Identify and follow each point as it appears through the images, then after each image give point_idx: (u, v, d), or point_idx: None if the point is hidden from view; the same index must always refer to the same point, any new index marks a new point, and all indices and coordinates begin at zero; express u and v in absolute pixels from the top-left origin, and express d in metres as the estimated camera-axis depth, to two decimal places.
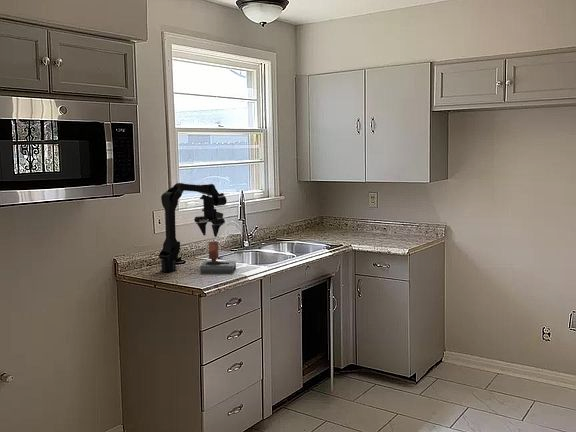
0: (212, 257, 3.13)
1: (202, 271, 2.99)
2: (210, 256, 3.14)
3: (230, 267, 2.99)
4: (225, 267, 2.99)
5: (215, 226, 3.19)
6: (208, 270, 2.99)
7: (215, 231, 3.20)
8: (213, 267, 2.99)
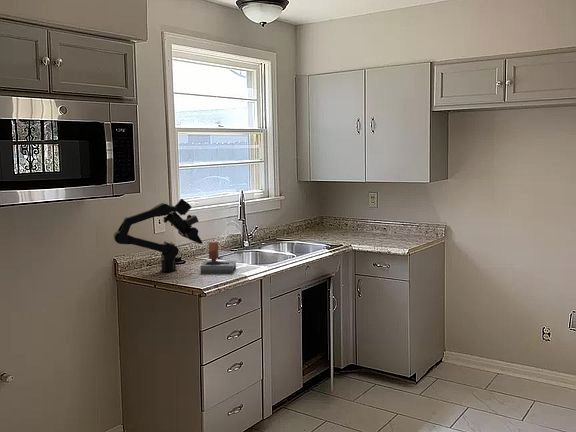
0: (212, 257, 3.13)
1: (202, 271, 2.99)
2: (210, 256, 3.14)
3: (230, 267, 2.99)
4: (225, 267, 2.99)
5: (193, 238, 3.03)
6: (208, 270, 2.99)
7: (197, 241, 3.05)
8: (213, 267, 2.99)
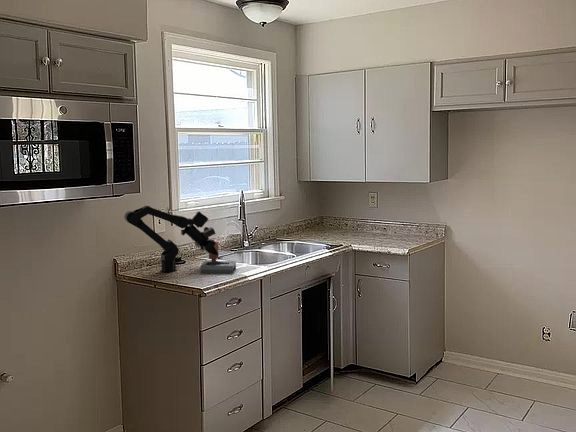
0: (212, 257, 3.13)
1: (202, 271, 2.99)
2: (210, 256, 3.14)
3: (230, 267, 2.99)
4: (225, 267, 2.99)
5: None
6: (208, 270, 2.99)
7: (213, 252, 3.12)
8: (213, 267, 2.99)
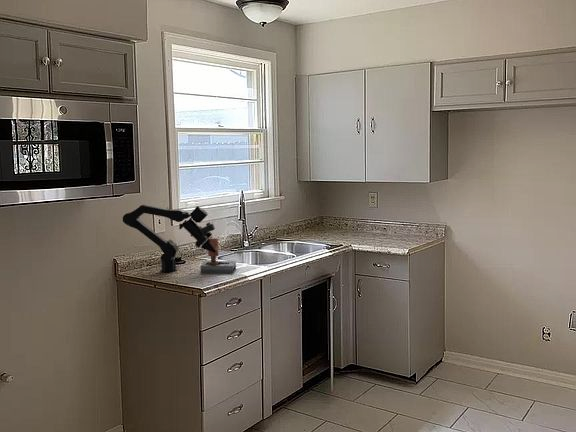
0: (209, 254, 3.03)
1: (202, 271, 2.99)
2: (208, 253, 3.04)
3: (230, 267, 2.99)
4: (225, 267, 2.99)
5: (204, 246, 3.00)
6: (208, 270, 2.99)
7: (209, 249, 3.01)
8: (213, 267, 2.99)
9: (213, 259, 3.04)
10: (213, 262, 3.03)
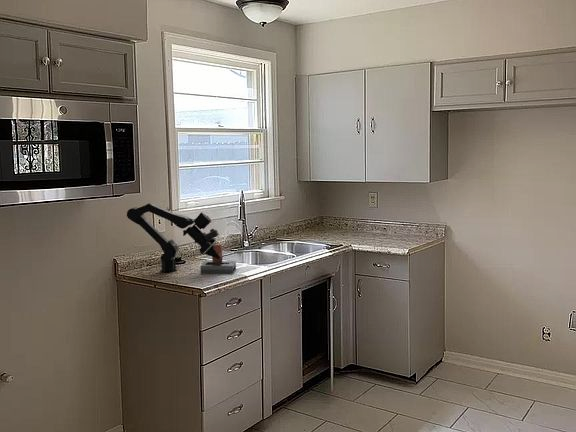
0: (214, 260, 3.03)
1: (202, 271, 2.99)
2: (212, 259, 3.04)
3: (230, 267, 2.99)
4: (225, 267, 2.99)
5: (208, 252, 3.00)
6: (208, 270, 2.99)
7: (213, 255, 3.01)
8: (213, 267, 2.99)
9: None
10: None
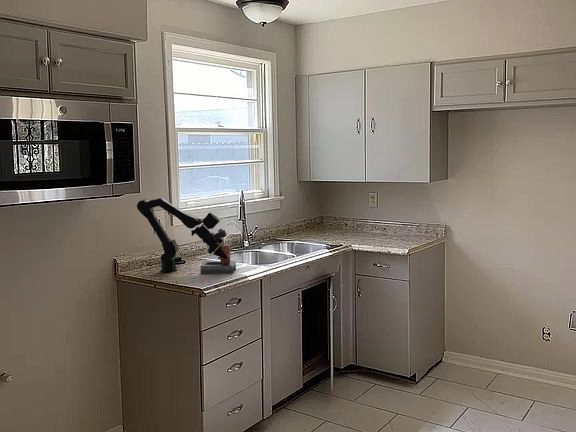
0: (222, 261, 3.03)
1: (202, 271, 2.99)
2: (220, 259, 3.04)
3: (230, 267, 2.99)
4: (225, 267, 2.99)
5: (216, 253, 2.99)
6: (208, 270, 2.99)
7: (221, 255, 3.00)
8: (213, 267, 2.99)
9: None
10: None
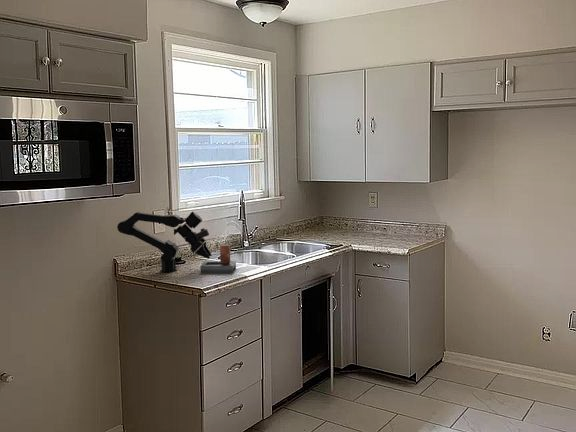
0: (222, 261, 3.03)
1: (202, 271, 2.99)
2: (220, 259, 3.04)
3: (230, 267, 2.99)
4: (225, 267, 2.99)
5: (198, 252, 2.99)
6: (208, 270, 2.99)
7: (203, 255, 3.00)
8: (213, 267, 2.99)
9: None
10: None
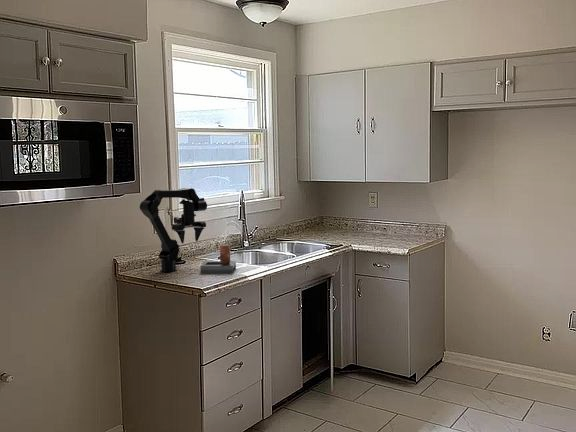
0: (222, 261, 3.03)
1: (202, 271, 2.99)
2: (220, 259, 3.04)
3: (230, 267, 2.99)
4: (225, 267, 2.99)
5: None
6: (208, 270, 2.99)
7: None
8: (213, 267, 2.99)
9: None
10: None
